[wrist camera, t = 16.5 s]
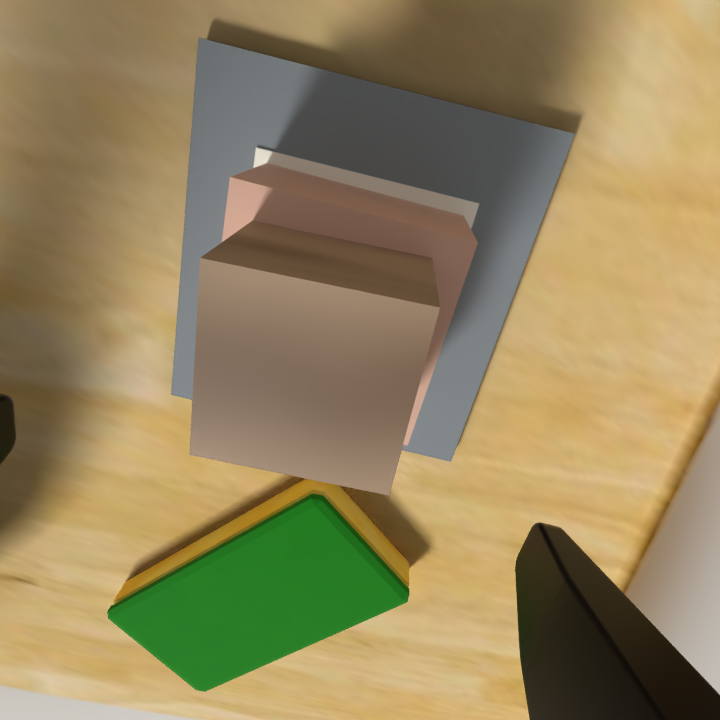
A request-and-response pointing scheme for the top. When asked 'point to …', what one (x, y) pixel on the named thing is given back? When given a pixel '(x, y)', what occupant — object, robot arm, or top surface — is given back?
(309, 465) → the walnut cube
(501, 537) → the top surface
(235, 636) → the dish sponge
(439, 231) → the pink square block
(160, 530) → the top surface
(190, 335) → the slate mat
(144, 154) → the top surface
